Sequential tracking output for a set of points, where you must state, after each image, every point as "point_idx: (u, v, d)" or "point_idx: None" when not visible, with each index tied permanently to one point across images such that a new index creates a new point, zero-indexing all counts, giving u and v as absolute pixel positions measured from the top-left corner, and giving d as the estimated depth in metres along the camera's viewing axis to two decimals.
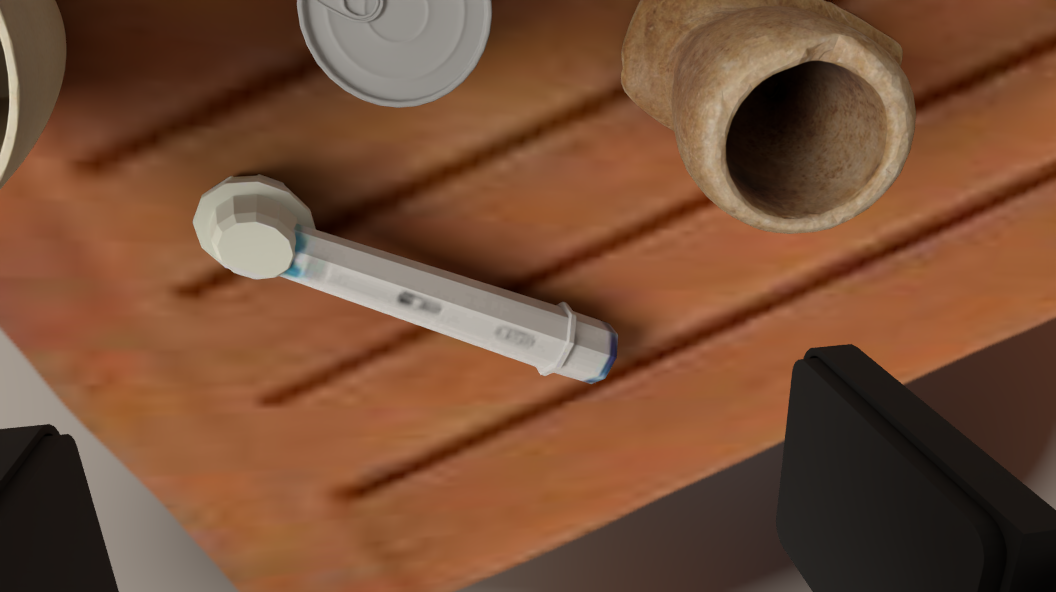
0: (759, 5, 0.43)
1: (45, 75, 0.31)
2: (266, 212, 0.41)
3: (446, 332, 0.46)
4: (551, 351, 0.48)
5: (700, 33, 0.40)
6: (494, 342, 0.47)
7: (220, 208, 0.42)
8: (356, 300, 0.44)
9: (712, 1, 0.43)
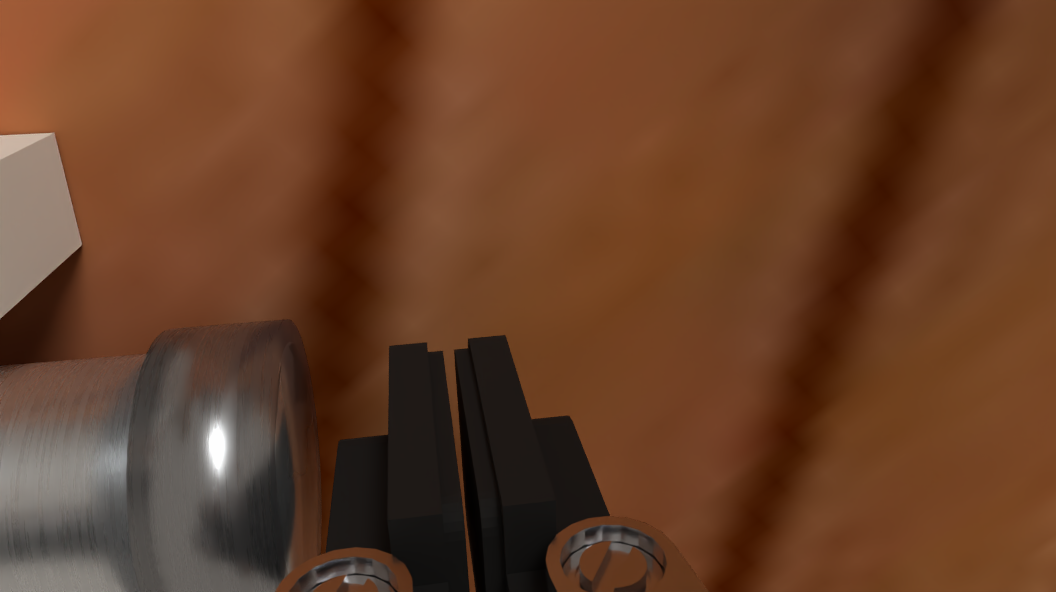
0: None
1: None
2: None
3: None
4: None
5: None
6: None
7: None
8: None
9: None
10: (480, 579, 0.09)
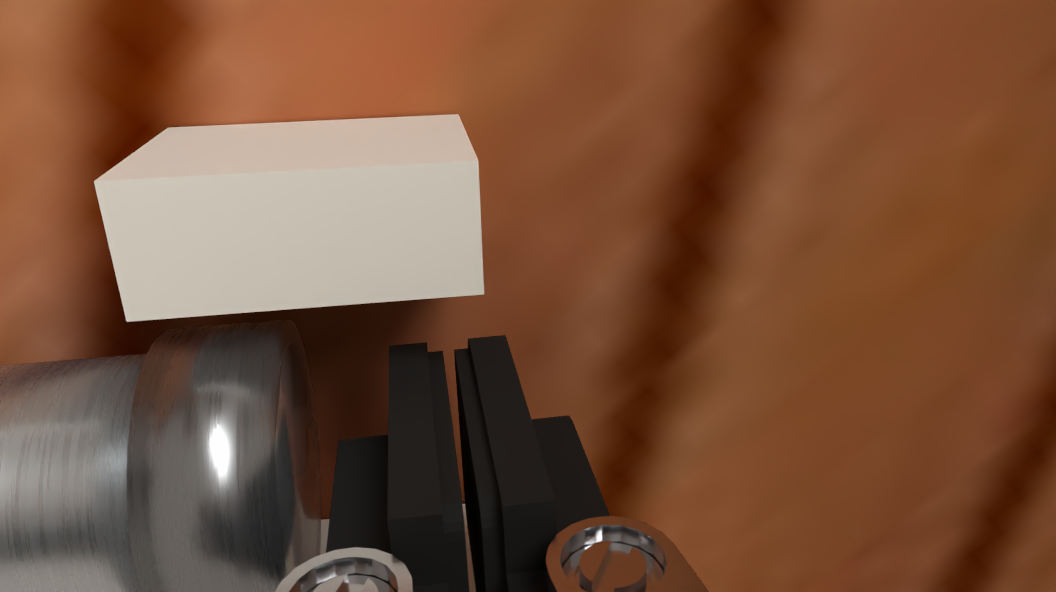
0: None
1: None
2: None
3: None
4: None
5: None
6: None
7: None
8: None
9: None
10: (480, 579, 0.09)
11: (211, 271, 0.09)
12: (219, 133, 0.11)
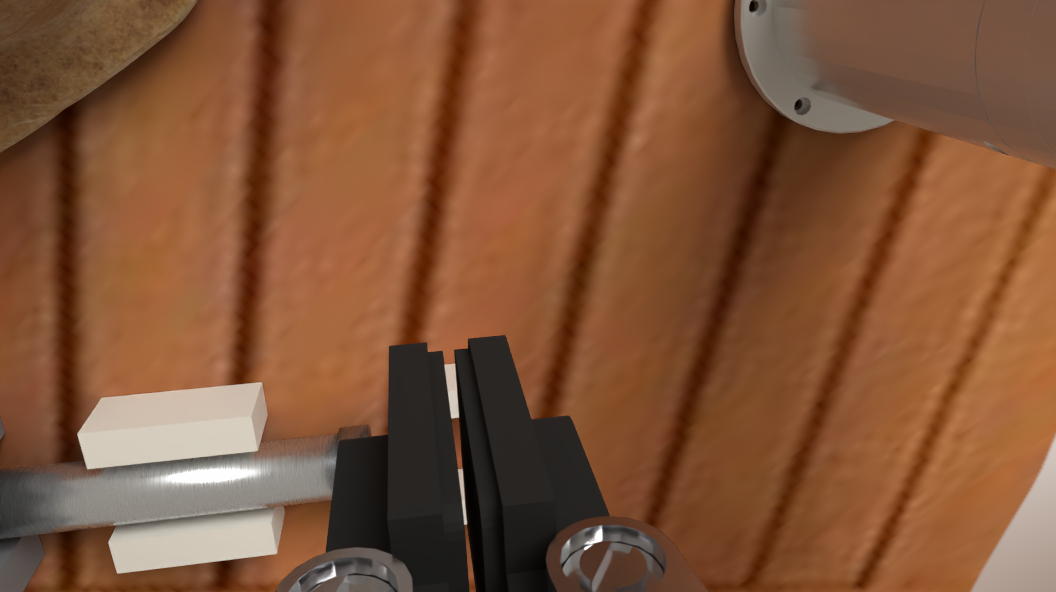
0: (91, 20, 0.32)
1: None
2: None
3: None
4: None
5: None
6: None
7: None
8: None
9: None
10: (480, 579, 0.09)
11: None
12: None
